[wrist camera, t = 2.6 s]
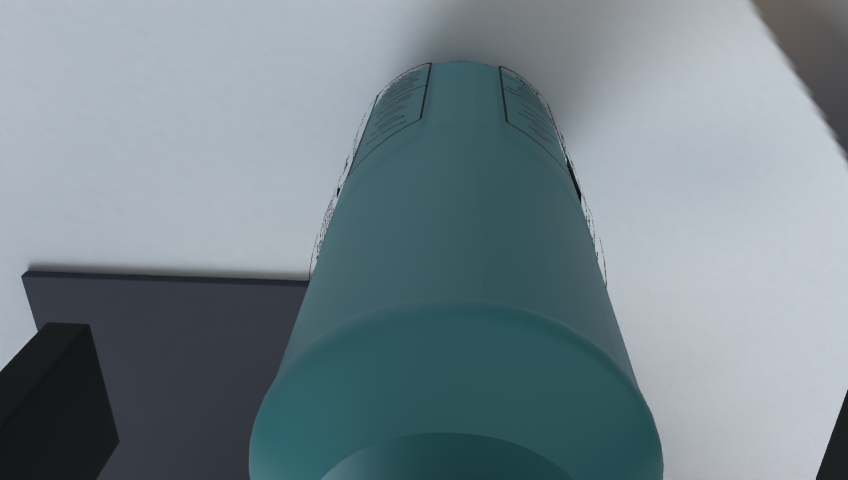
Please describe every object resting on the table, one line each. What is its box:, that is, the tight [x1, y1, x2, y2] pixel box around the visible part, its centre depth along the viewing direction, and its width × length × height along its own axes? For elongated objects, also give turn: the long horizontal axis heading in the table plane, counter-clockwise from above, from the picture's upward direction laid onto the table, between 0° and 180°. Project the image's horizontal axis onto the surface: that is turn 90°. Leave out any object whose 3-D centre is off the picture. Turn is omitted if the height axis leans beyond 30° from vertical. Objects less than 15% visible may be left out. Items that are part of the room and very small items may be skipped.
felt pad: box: [21, 271, 310, 480], centre depth 30 cm, size 12×12×1 cm
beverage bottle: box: [249, 61, 664, 480], centre depth 15 cm, size 6×7×20 cm
